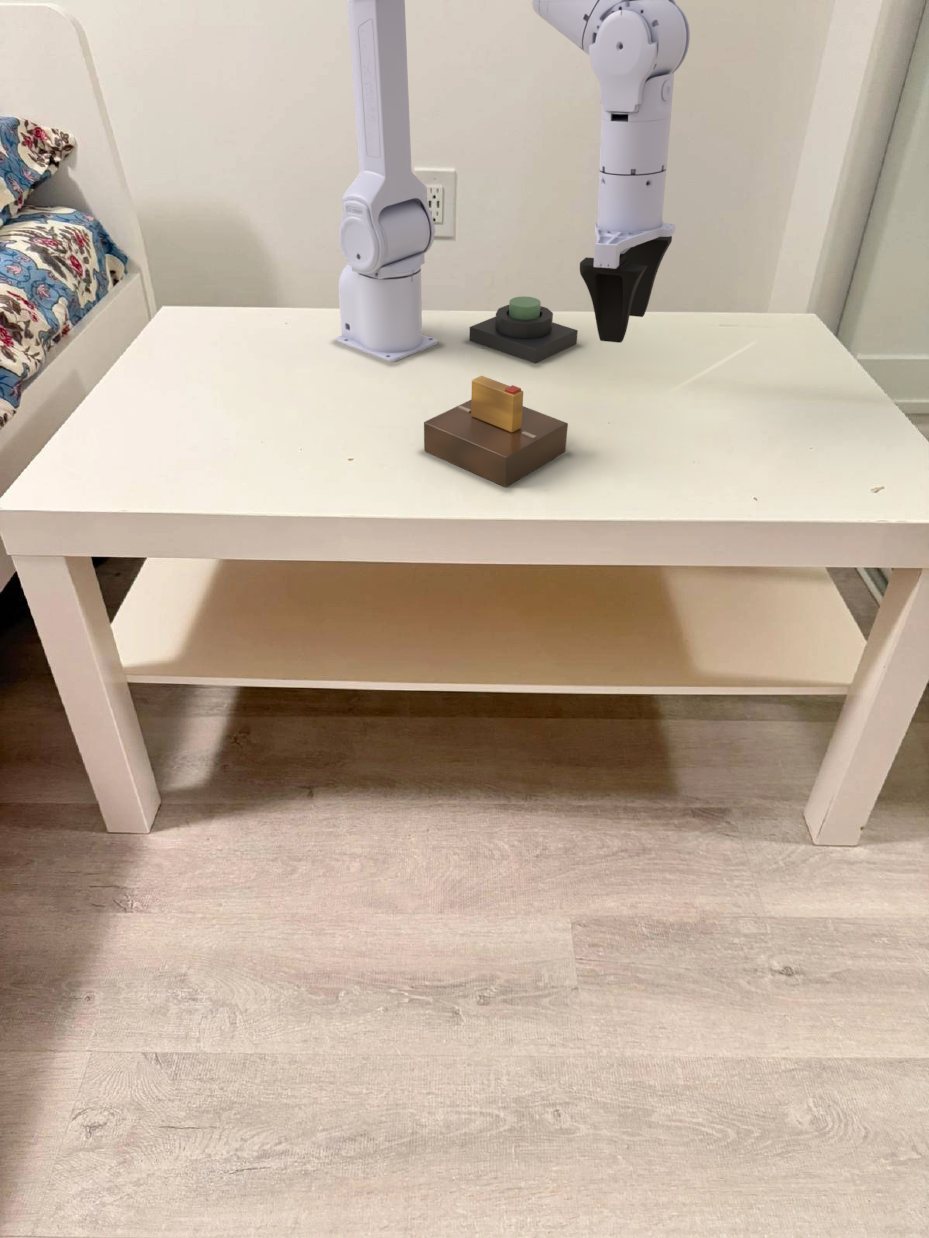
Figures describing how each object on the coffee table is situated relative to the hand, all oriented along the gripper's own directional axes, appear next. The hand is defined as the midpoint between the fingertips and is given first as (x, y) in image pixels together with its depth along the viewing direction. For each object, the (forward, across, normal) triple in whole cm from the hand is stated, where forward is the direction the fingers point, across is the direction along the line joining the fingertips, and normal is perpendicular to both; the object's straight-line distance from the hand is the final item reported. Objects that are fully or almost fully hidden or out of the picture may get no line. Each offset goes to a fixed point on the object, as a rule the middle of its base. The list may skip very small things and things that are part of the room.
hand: (622, 327), depth 84 cm
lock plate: (+9, -12, +9) cm, 17 cm away
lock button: (+5, +15, +16) cm, 22 cm away
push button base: (+8, +15, +16) cm, 23 cm away
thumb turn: (+6, -12, +8) cm, 16 cm away
